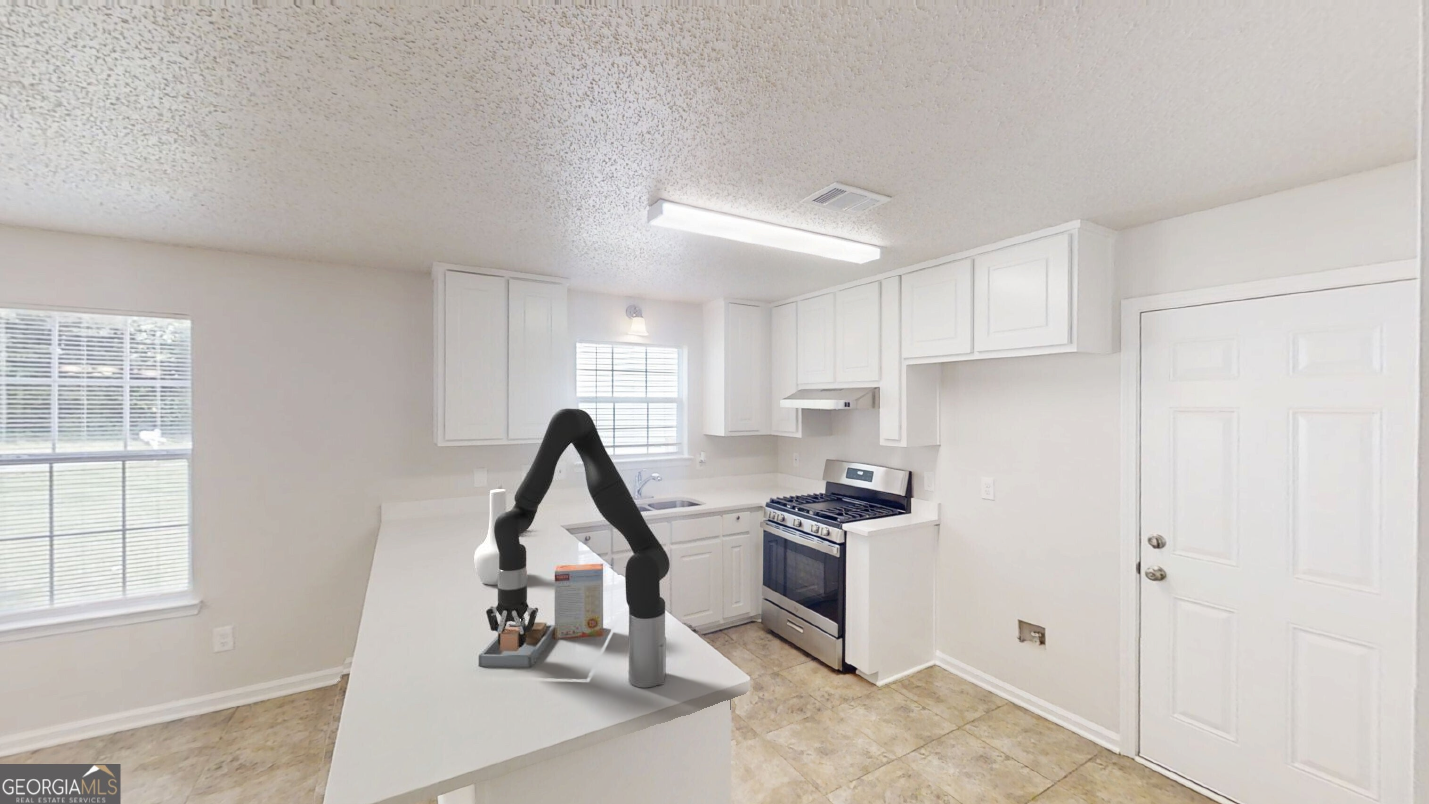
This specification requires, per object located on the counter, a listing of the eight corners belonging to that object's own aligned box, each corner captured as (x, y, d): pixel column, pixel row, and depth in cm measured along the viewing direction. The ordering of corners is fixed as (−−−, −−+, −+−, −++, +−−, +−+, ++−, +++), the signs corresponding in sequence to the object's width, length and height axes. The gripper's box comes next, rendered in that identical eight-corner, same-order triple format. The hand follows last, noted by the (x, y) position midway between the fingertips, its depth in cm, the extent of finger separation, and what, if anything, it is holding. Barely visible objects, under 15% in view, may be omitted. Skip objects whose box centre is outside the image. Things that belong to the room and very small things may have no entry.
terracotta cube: (523, 643, 151) (523, 627, 151) (516, 651, 146) (517, 634, 146) (507, 643, 151) (507, 626, 151) (500, 650, 146) (500, 634, 146)
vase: (525, 582, 210) (525, 491, 210) (479, 590, 201) (479, 495, 200) (514, 570, 224) (514, 485, 224) (470, 577, 215) (470, 489, 214)
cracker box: (603, 629, 168) (603, 562, 168) (602, 638, 162) (603, 568, 162) (556, 632, 166) (556, 564, 166) (553, 641, 160) (554, 570, 160)
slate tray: (555, 636, 163) (555, 624, 163) (531, 670, 143) (531, 656, 143) (509, 635, 164) (509, 623, 164) (478, 668, 144) (478, 655, 144)
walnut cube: (546, 637, 161) (546, 622, 161) (541, 644, 156) (541, 629, 156) (531, 637, 161) (531, 622, 161) (525, 644, 156) (525, 628, 156)
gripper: (480, 587, 145) (479, 651, 145) (533, 589, 144) (533, 653, 145) (492, 578, 152) (492, 639, 153) (543, 579, 152) (542, 640, 152)
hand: (512, 645), depth 149 cm, fingers closed on terracotta cube, 4 cm apart
